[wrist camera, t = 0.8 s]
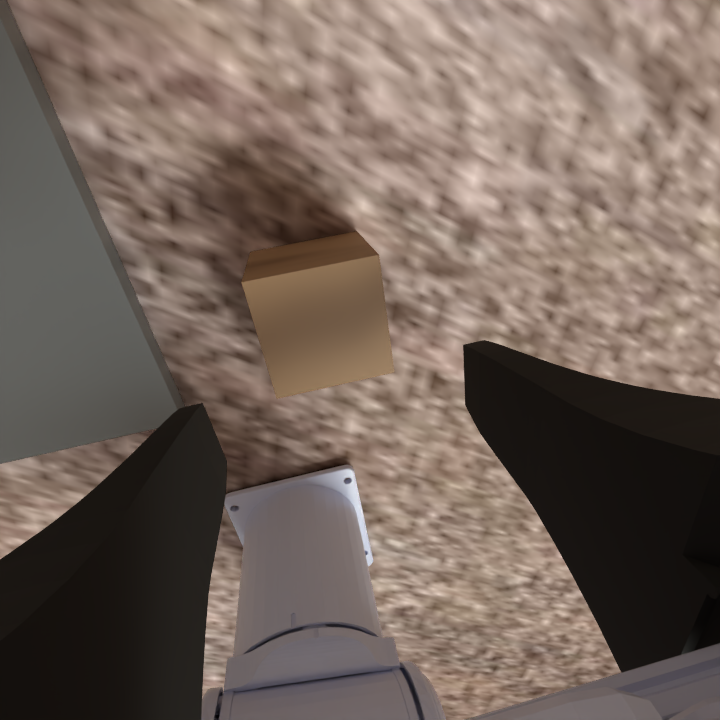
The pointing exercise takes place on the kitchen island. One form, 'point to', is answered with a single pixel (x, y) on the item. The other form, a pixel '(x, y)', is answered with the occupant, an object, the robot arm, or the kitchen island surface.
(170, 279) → the kitchen island surface
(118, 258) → the board
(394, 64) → the kitchen island surface
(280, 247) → the cube
